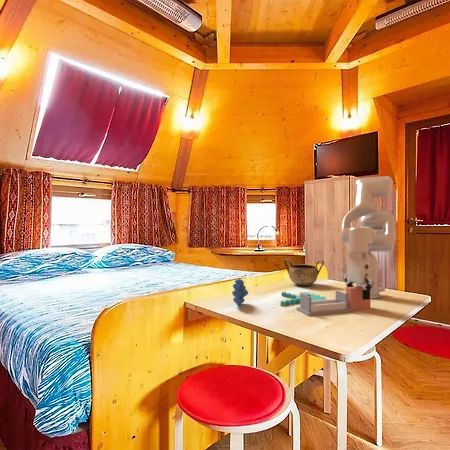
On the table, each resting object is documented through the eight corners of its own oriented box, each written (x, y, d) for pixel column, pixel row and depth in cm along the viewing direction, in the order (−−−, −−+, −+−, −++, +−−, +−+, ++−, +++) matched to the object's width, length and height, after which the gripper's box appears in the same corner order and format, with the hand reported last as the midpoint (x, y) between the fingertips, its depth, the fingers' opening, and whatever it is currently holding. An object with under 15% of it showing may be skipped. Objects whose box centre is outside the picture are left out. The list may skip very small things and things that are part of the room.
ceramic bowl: (325, 284, 184) (325, 258, 184) (321, 289, 168) (321, 261, 168) (287, 281, 193) (287, 256, 193) (280, 286, 178) (280, 259, 178)
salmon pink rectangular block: (365, 306, 136) (365, 285, 136) (370, 308, 133) (370, 287, 133) (345, 308, 133) (345, 287, 133) (350, 310, 130) (350, 288, 130)
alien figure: (280, 306, 137) (328, 309, 133) (280, 301, 137) (328, 304, 133) (281, 296, 157) (323, 298, 153) (281, 291, 157) (323, 293, 153)
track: (337, 306, 137) (337, 289, 136) (351, 311, 128) (351, 294, 128) (296, 309, 131) (296, 293, 131) (308, 316, 122) (308, 298, 122)
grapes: (243, 310, 130) (243, 281, 130) (228, 308, 133) (228, 280, 133) (252, 303, 141) (252, 276, 141) (238, 301, 144) (238, 275, 144)
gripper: (381, 258, 125) (380, 301, 125) (351, 254, 142) (351, 292, 142) (365, 258, 123) (365, 302, 123) (337, 254, 140) (337, 293, 140)
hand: (357, 296), depth 132 cm, fingers open, 9 cm apart
